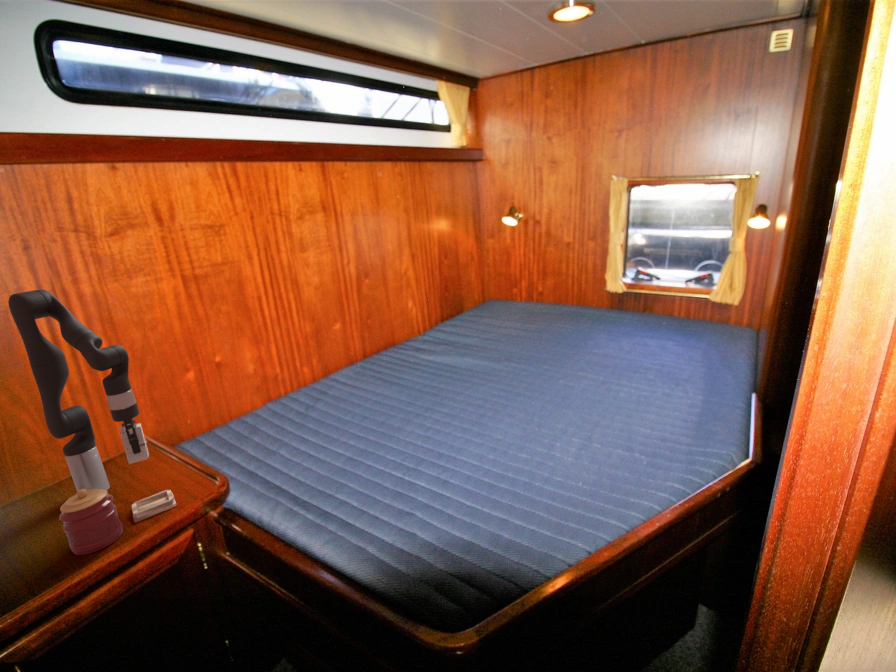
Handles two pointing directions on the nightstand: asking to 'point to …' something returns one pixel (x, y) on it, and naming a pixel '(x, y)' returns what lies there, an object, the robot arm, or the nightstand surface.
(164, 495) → the white shallow tray
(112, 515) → the canister
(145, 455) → the skincare box
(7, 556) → the nightstand surface
